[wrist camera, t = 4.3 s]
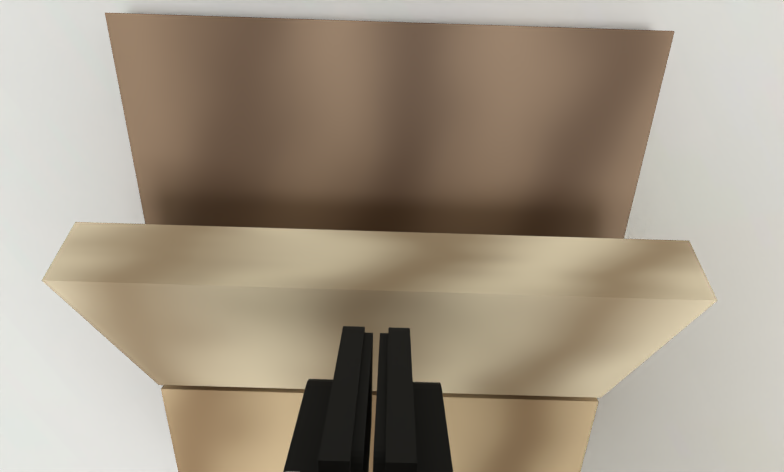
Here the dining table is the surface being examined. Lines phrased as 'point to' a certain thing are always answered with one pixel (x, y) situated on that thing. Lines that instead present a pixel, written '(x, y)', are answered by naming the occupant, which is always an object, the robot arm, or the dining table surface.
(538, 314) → the hinged plank
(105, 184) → the dining table surface
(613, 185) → the floor board
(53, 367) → the dining table surface
